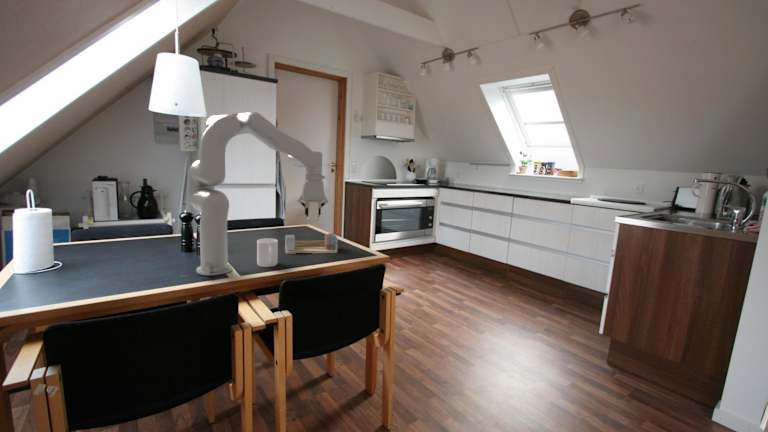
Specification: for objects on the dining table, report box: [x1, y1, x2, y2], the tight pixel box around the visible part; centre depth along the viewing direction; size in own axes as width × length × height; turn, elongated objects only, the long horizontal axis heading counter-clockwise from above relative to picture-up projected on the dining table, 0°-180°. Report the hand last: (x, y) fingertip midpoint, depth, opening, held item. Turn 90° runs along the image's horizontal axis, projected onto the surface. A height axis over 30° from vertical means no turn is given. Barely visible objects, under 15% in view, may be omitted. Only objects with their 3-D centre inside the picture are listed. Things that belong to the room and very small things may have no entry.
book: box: [306, 201, 320, 222], centre depth 173 cm, size 7×4×9 cm, turn 17°
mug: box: [256, 237, 279, 268], centre depth 151 cm, size 12×8×10 cm
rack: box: [284, 232, 339, 255], centre depth 177 cm, size 9×24×8 cm, turn 108°
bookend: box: [284, 234, 296, 250], centre depth 174 cm, size 6×4×6 cm, turn 18°
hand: (312, 216), depth 174 cm, fingers closed on book, 4 cm apart
